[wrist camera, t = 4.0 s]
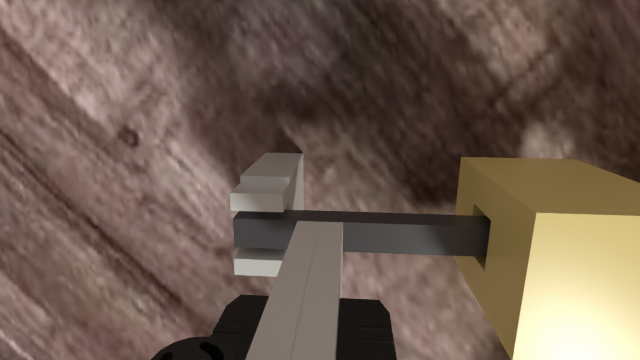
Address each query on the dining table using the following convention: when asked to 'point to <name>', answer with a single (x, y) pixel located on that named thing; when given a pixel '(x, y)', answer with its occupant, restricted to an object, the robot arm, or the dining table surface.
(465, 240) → the linear slide mechanism
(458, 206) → the sleeve
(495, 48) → the dining table surface
